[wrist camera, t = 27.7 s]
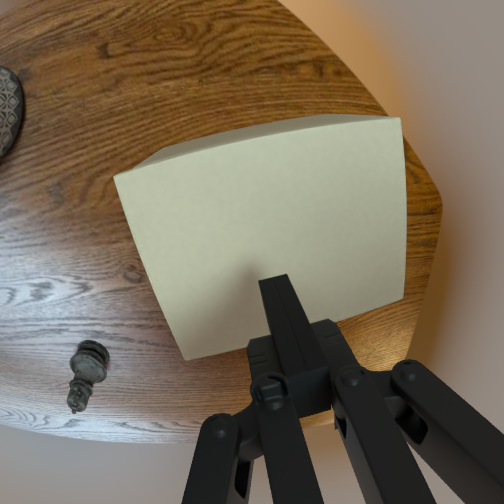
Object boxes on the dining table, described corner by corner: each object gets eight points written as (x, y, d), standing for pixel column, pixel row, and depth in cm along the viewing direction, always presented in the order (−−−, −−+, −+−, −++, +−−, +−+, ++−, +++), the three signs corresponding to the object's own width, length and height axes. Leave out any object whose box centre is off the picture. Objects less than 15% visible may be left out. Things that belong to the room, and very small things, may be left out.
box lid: (185, 354, 24) (185, 361, 23) (116, 174, 17) (112, 176, 17) (398, 294, 25) (403, 299, 24) (394, 116, 18) (400, 117, 18)
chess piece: (117, 353, 41) (101, 416, 30) (101, 372, 42) (85, 431, 31) (84, 332, 38) (59, 393, 28) (70, 352, 40) (47, 410, 29)
